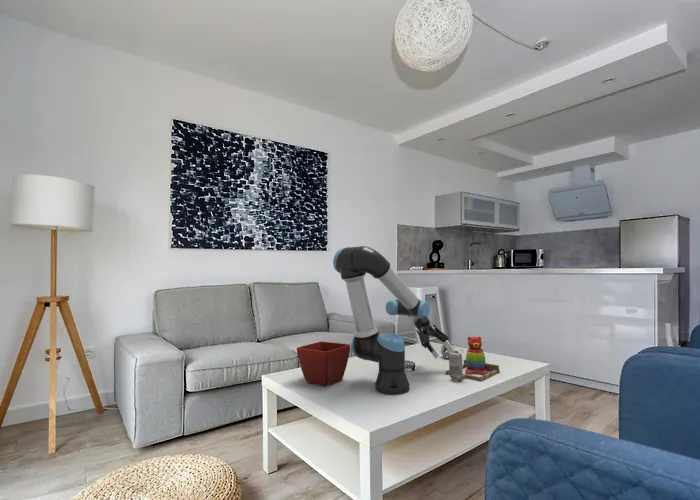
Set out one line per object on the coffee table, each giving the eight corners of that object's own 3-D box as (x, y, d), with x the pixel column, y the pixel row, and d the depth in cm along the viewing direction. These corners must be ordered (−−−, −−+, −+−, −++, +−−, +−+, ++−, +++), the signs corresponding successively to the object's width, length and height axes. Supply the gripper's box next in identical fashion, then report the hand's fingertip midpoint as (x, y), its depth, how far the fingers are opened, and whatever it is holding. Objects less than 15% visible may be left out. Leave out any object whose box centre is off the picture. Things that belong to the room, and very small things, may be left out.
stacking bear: (465, 375, 184) (463, 338, 185) (464, 369, 194) (463, 334, 195) (488, 376, 181) (487, 338, 182) (486, 370, 191) (484, 335, 192)
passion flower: (445, 368, 217) (434, 350, 222) (459, 362, 222) (448, 344, 227) (454, 361, 208) (443, 341, 214) (468, 354, 213) (457, 336, 219)
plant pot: (321, 373, 192) (321, 340, 193) (352, 379, 181) (351, 344, 182) (296, 383, 177) (295, 347, 178) (327, 390, 166) (326, 351, 167)
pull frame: (472, 385, 166) (471, 357, 167) (436, 377, 179) (435, 351, 180) (499, 372, 186) (498, 346, 187) (465, 366, 199) (464, 342, 200)
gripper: (429, 322, 202) (454, 355, 190) (400, 327, 185) (425, 363, 173) (438, 313, 198) (464, 346, 187) (408, 317, 181) (435, 354, 170)
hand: (445, 354), depth 180 cm, fingers open, 13 cm apart
